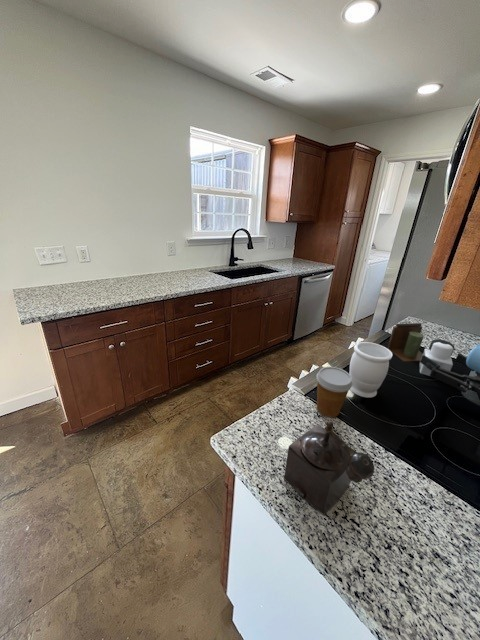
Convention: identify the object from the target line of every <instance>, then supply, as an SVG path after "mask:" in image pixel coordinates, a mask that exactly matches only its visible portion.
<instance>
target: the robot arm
mask: <svg viewBox="0 0 480 640" xmlns="http://www.w3.org/2000/svg"><path fill="white" fill-rule="evenodd" d="M455 361H456V362H457V363H458V364H460V365H461V366H463V367H464V368H466V369H468V370H469V371H471V372H474V374H476V375H474V376H470V375H468V374H461V373H457V372H454V371H451V370H450V371H448V370H445V369H442V368H440V366H439V365H438V364H436V363H435V362H434V361H432V360H431V359H429V358H428V357H426V356H425V355H423V356H422V359H421V363H422V364H423V365H425V366H426V367H427V368H428V369H430V370H431V373H430V376H429V377H432V378H434V379H436V380H438V381H440V382H442V383H444V384H446V385H449V386H451V387H453V388H455V389H457V390H459V392H461V393H465V394H467V392H468V391H471V392H473V393H475V394H476V395H477V398H478V400H479V401H480V343H478V344H476V345H475V346H473V347H472V349H471V350H470V351H469V353H468V354H467V356H465V355H464V354H461V353H458V354H457V356H456V358H455Z"/></svg>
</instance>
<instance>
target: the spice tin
mask: <svg viewBox="0 0 480 640" xmlns="http://www.w3.org/2000/svg"><path fill="white" fill-rule="evenodd" d="M424 337H425V335H424V334H423V333H422V332H421V333H418V332H410V333H409V336H408V339H407V342H406V345H405V348H404V351H403V354H404V355H406V356H408V357H412V358H415V357H417V354H418V352H419V351H420V348H421V346H422V343H423V340H424Z"/></svg>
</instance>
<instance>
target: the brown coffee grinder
mask: <svg viewBox="0 0 480 640" xmlns="http://www.w3.org/2000/svg"><path fill="white" fill-rule="evenodd" d="M333 428H334V422H332V420H329V421H327V422H326V425H325V427H324V426H322V425H320V424H319V423H318V424H315V425H314V426H313V427H311V428H310V429H309V430H307V431H306V432H305V433H304V434H302V435H301V436H299V437H298V438H297V439H295V440H294V441H293V442H291V444H290V445H288V449H287V455H286V463H285V469H284V475H283V478H284V479H285V481H286V482H287V483H288V484H289V485H290V486H291V487H292V488H293V489H294V490H295V492H296V493H297V494H298V495H299V496H300V497H301V498H302V499H303V500H305V501H306V502H307V503H308V504H309V505H311V507H313V508H314V510H316V511H317V512H319V513H320V514H322V515H325V514H326V513H328V512H329V511H330V510H331V509H332V508H333V507H334V506H335V504H337V503H338V502H339V501H340V500H341V498H342V497H343V496H344V495H345V493H346V491H347V489H348V488H349V486H350V485H351V483H352V482H354V483H355V484H359V483H361V482H362V481H363V480H368V479H370V478H372V477H373V476H374V473H375V465H374V464H375V463H374V462H373V461H372V459H371V457H370V456H369V455H367V454H366V453H364V452H361V451H356V450H354V449H353V448H352V447H351V446H349V445H348V443H347V442H345V441H344V440H343V439H342V438H341V437H340V436H339V435H338V434H337V433H336V432H334V430H333ZM351 481H352V482H351Z"/></svg>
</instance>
